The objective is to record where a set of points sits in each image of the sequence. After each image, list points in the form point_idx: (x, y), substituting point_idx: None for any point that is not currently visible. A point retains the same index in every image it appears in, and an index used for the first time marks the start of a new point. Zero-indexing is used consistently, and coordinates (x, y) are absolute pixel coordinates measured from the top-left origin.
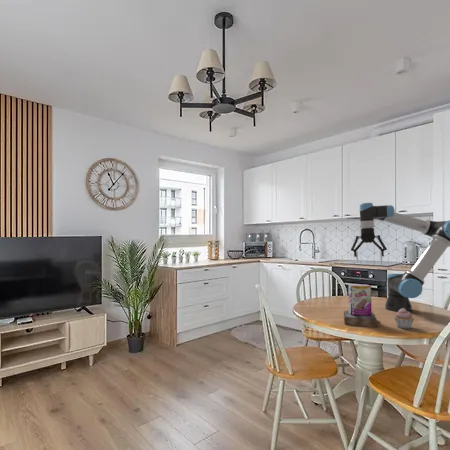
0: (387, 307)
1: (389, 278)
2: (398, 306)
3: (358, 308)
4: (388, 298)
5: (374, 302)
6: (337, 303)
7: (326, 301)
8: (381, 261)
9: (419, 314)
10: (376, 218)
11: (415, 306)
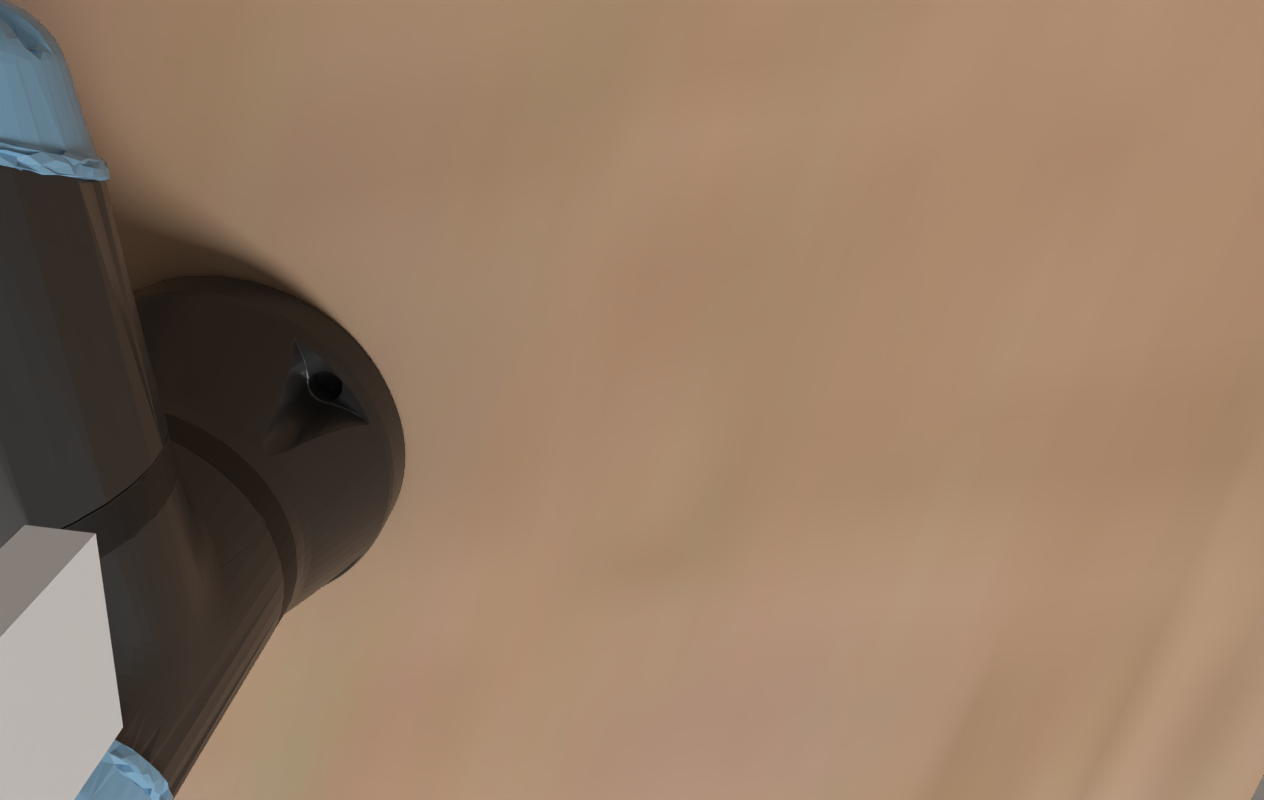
0: (385, 410)
1: (123, 727)
2: (235, 319)
3: None
4: (317, 509)
5: (469, 772)
6: (1006, 691)
7: (1125, 790)
8: (49, 549)
9: None
10: None
11: None
